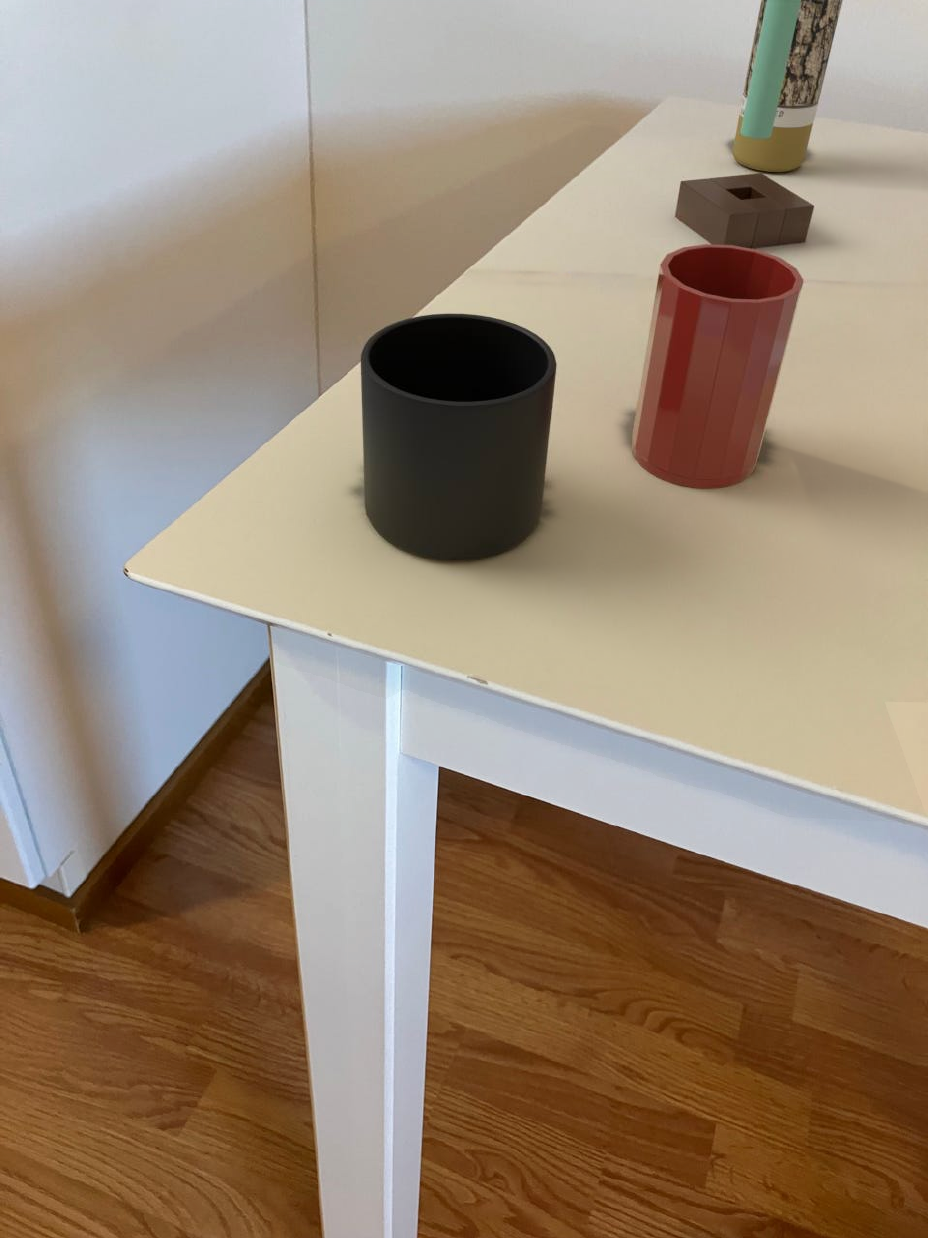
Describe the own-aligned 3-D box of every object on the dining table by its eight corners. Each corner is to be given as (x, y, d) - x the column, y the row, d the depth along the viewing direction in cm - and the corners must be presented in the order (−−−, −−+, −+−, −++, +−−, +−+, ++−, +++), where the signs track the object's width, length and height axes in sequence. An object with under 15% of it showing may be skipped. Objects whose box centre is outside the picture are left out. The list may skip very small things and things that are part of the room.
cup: (741, 423, 65) (784, 246, 58) (768, 490, 60) (818, 304, 53) (624, 419, 65) (652, 241, 58) (640, 486, 60) (673, 299, 52)
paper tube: (789, 180, 98) (866, -153, 82) (720, 164, 101) (781, -162, 85) (812, 160, 103) (889, -160, 86) (745, 145, 105) (808, -168, 89)
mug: (538, 441, 63) (552, 294, 57) (543, 568, 54) (560, 410, 48) (377, 434, 63) (374, 286, 57) (355, 559, 54) (349, 399, 48)
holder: (751, 220, 90) (761, 172, 88) (802, 256, 85) (814, 205, 83) (672, 229, 88) (680, 180, 86) (719, 266, 83) (729, 214, 80)
